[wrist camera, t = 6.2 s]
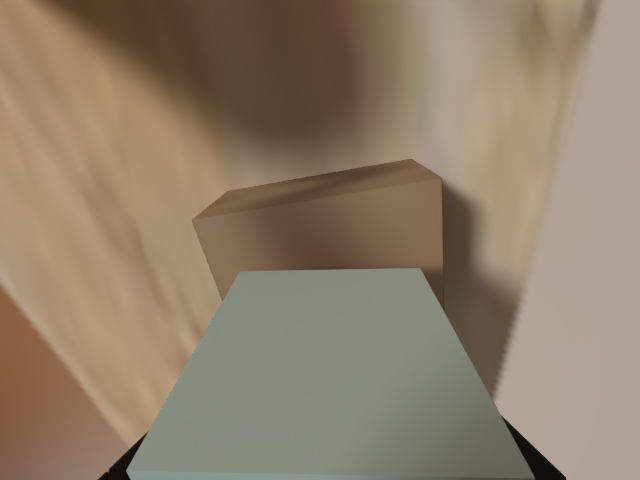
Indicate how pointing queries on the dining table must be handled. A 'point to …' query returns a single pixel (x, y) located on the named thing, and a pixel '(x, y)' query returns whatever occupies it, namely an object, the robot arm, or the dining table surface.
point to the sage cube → (329, 388)
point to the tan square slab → (329, 224)
